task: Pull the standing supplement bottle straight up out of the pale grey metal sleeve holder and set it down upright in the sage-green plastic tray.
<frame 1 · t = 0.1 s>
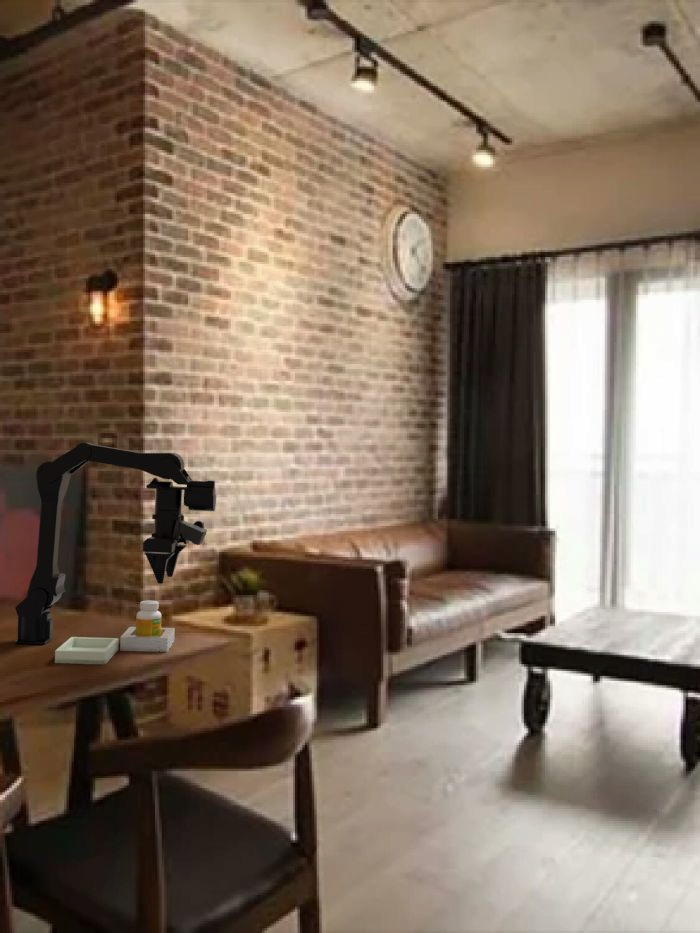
hand: (165, 580, 192), 15 cm above the table, tool pointing down, fingers open, 9 cm apart
tray: (87, 656, 180), on the table
supplement bottle: (147, 646, 191), resting in sleeve holder
sleeve holder: (147, 645, 191), on the table
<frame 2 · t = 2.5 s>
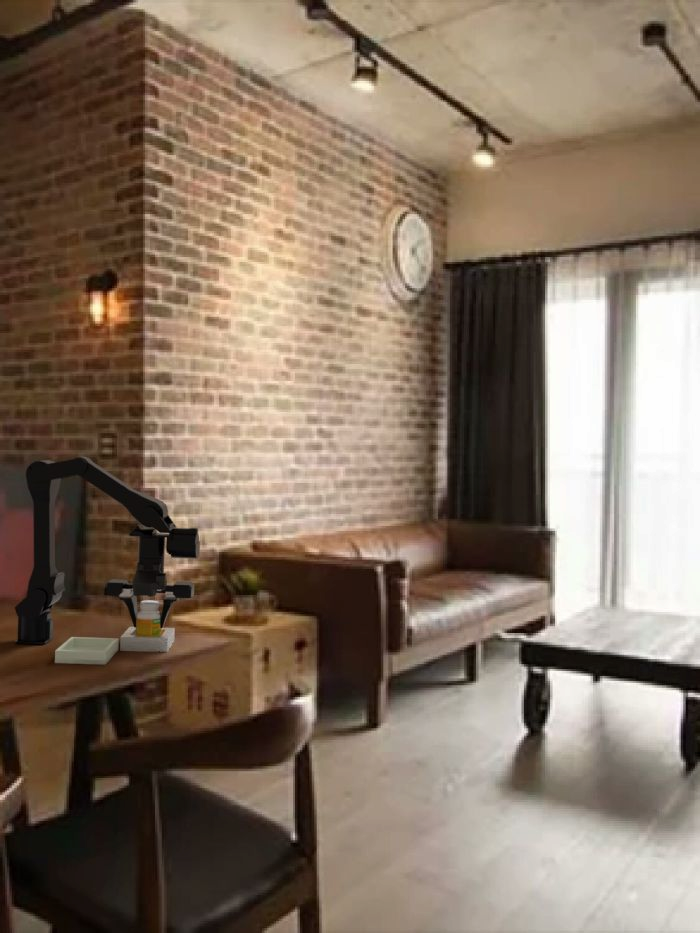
hand: (148, 627, 191), 4 cm above the table, tool pointing down, fingers closed on supplement bottle, 5 cm apart
supplement bottle: (147, 646, 191), resting in sleeve holder, touching gripper
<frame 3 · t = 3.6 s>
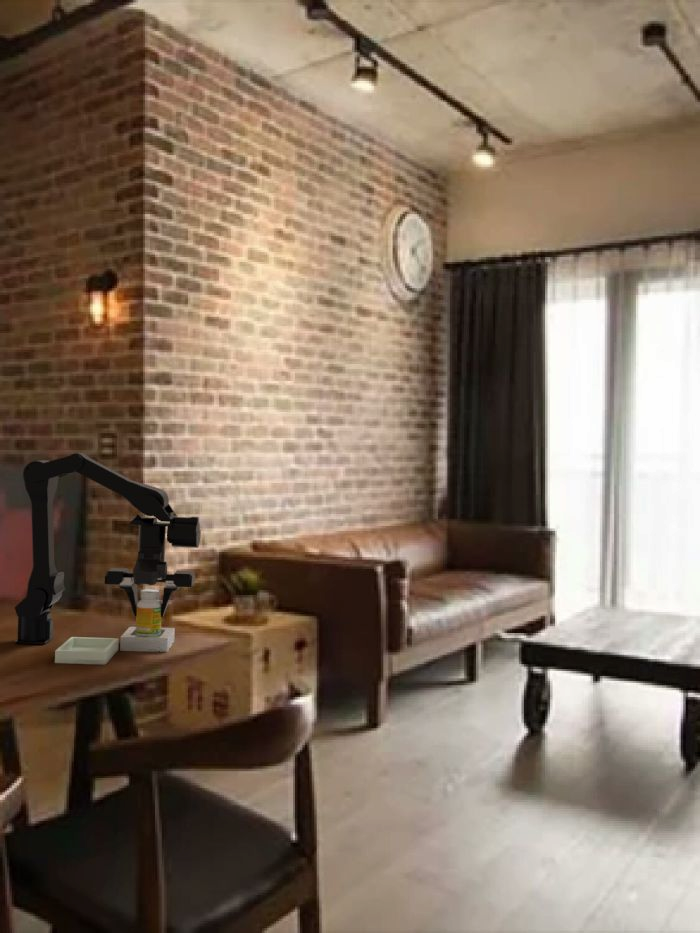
hand: (148, 616, 191), 6 cm above the table, tool pointing down, fingers closed on supplement bottle, 5 cm apart
supplement bottle: (148, 635, 191), point 2 cm above the table, touching gripper
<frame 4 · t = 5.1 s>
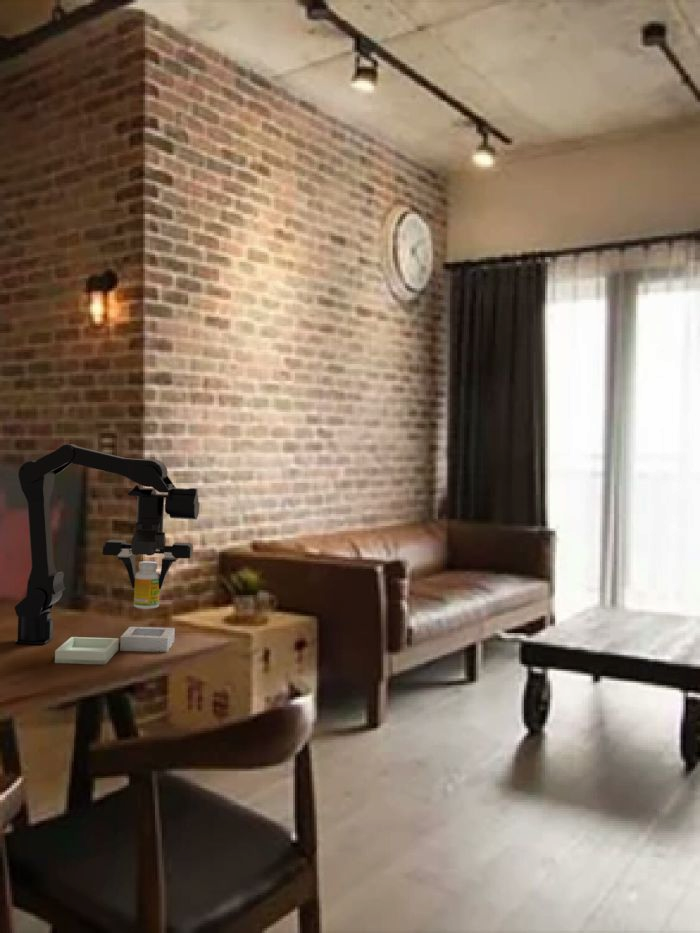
hand: (147, 588, 190), 13 cm above the table, tool pointing down, fingers closed on supplement bottle, 5 cm apart
supplement bottle: (146, 607, 191), point 9 cm above the table, touching gripper
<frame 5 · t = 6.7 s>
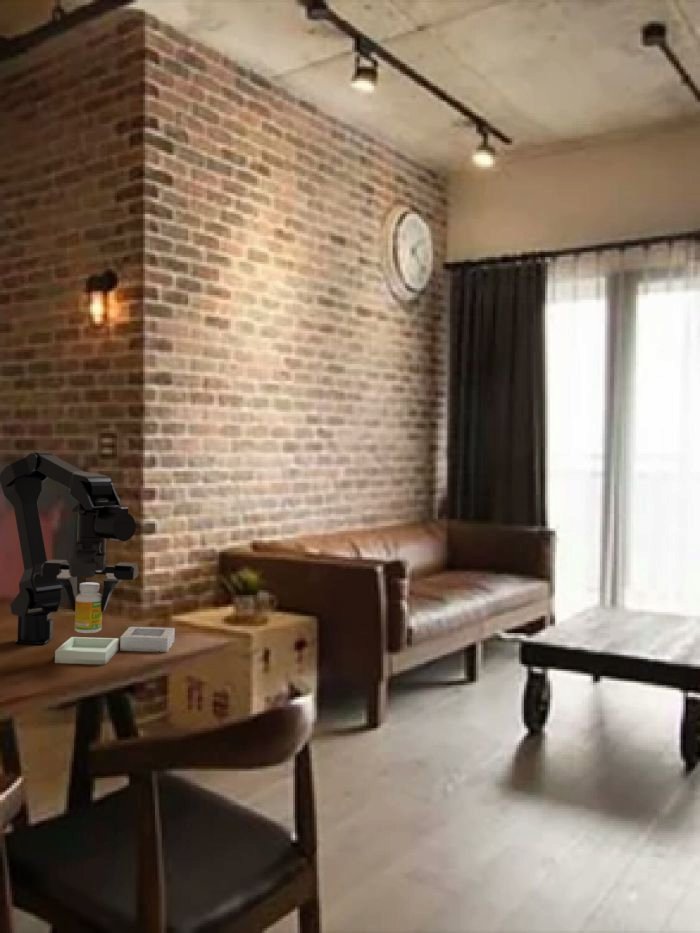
hand: (88, 611, 180), 9 cm above the table, tool pointing down, fingers closed on supplement bottle, 5 cm apart
supplement bottle: (87, 631, 180), point 5 cm above the table, touching gripper
when the fingers open (6 cm above the table, at t = 8.0 s): supplement bottle drops 2 cm, resting on tray.
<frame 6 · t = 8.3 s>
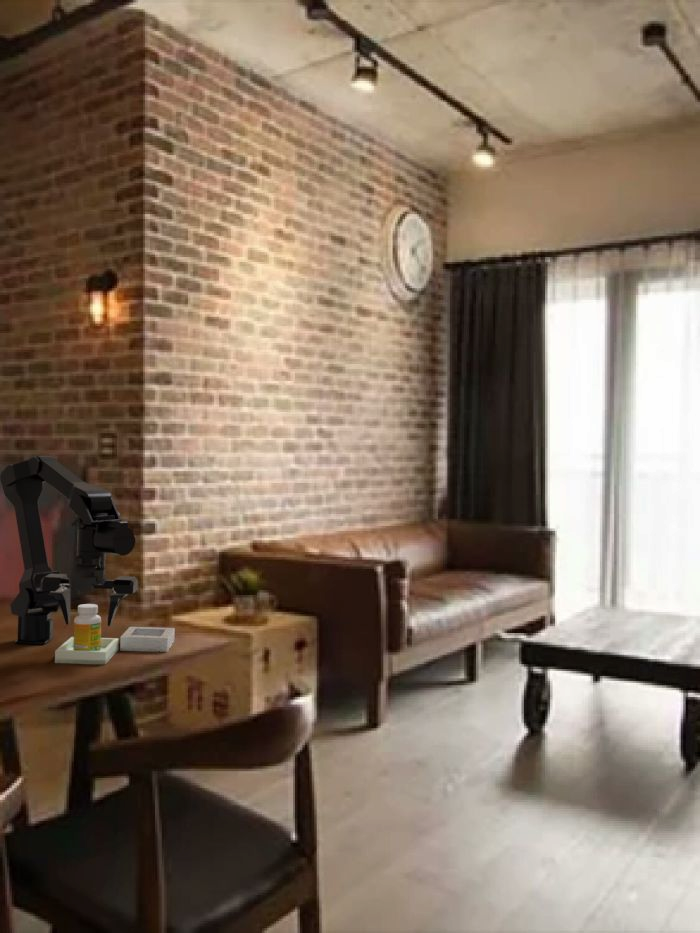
hand: (88, 625, 180), 6 cm above the table, tool pointing down, fingers open, 8 cm apart
supplement bottle: (87, 653, 180), point 1 cm above the table, touching tray
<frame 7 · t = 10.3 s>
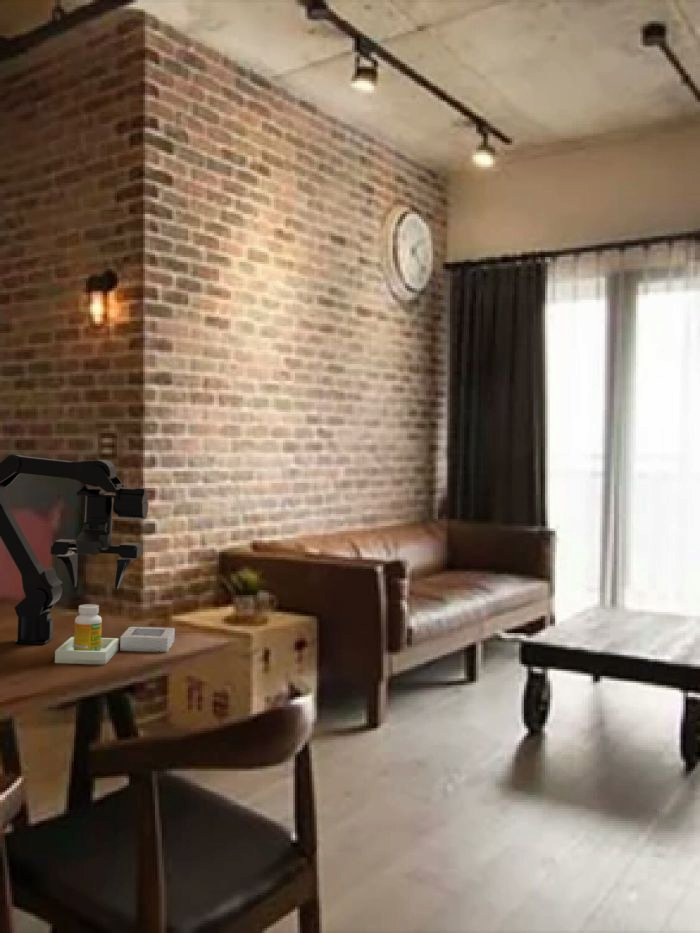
hand: (95, 587, 191), 12 cm above the table, tool pointing down, fingers open, 9 cm apart
nothing on the table moved.
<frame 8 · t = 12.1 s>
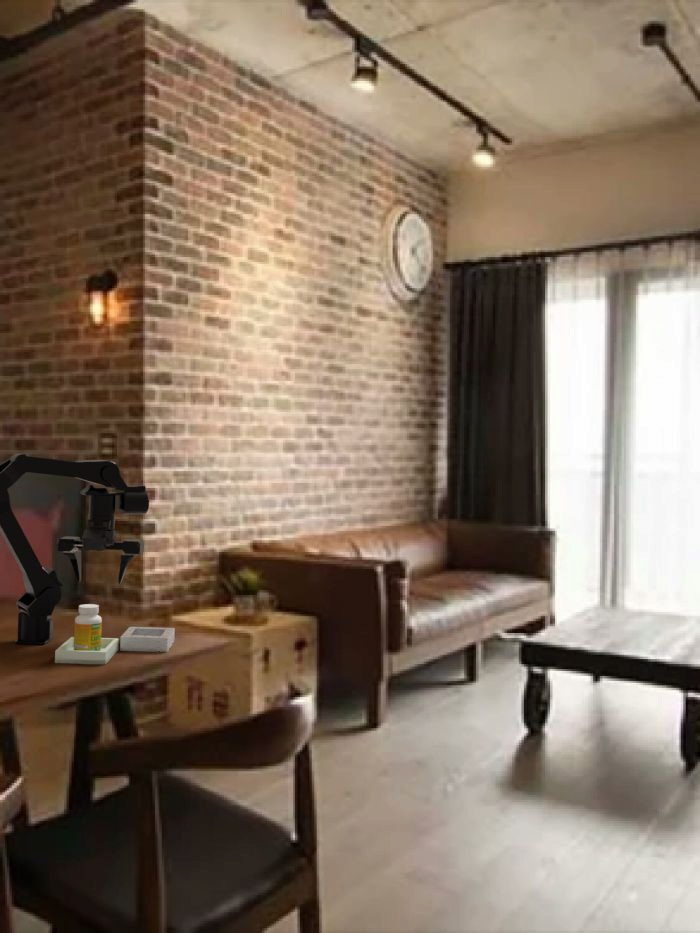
hand: (99, 582, 199), 12 cm above the table, tool pointing down, fingers open, 9 cm apart
nothing on the table moved.
at the end: supplement bottle 0.1 cm off-centre on the tray, point 0.6 cm above the tray's base; supplement bottle tilted 0°; the gripper is holding nothing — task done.
